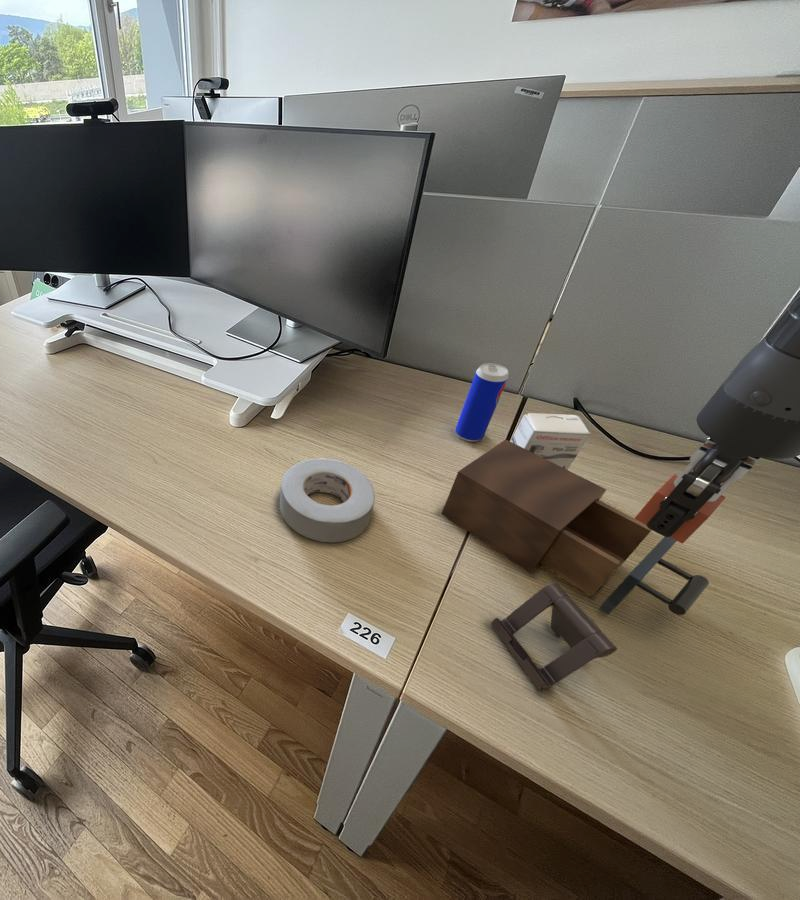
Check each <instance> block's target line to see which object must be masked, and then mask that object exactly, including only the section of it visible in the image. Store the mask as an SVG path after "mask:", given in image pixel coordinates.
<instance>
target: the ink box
mask: <svg viewBox="0 0 800 900" xmlns="http://www.w3.org/2000/svg"><path fill="white" fill-rule="evenodd" d="M591 435H592V432H591V429H590V428H589V426H588V424H587V423H586V422H585V421H584V420H583V418H582V417H581V416H579V415H577V414H565V413H564V414H563V413H562V414H561V413H542V412H528V413H527V414H523V416H522V418H521V420H520V421H519V424H518V426H517V428H516V430H515V432H514V433H513V435H512V438H511V439H510V442H512V443H514V444H516V445H518V446H520V447H522V448H524V449H526V450H528V451H530V452H532V453H534V454H536V455H538V456H540V457H542V458H544V459H546V460H548V461H550V462H552V463H554V464H556V465H558V466H560V467H562V468H564V469H566V470H568V471H569V468H570V467H571V465H572V464H573V463H574V461H575V460H576V457H578V454H579V453H580V451H581V450H582V449H583V447H584V445H585V444H586V442H587V441H588V439H589V438H590V436H591Z"/></svg>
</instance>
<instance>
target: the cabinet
mask: <svg viewBox="0 0 800 900" xmlns="http://www.w3.org/2000/svg"><path fill="white" fill-rule="evenodd" d="M606 491H607V488H605V487H603V486H601V485H598V484H597V483H595V482H592V481H591V480H589V479H587V478H584V477H582V476H581V475H579V474H576V473H575V472H572V471H571V470H569V469H568V470H566V469H564V468H562V467H560V466H558V465H556V464H554V463H552V462H550V461H548V460H546V459H544V458H542V457H540V456H538V455H536V454H534V453H532V452H530V451H528V450H526V449H524V448H522V447H520V446H518V445H516V444H514V443H512V442H511V440H508V439H504V440H502V441H501V442H499V443H497V444H496V445H495V446H493V447H492V448H491V449H489V450H487V451H486V452H485V453H483V454H481V455H480V456H479V457H477V458H476V459H474V460H472V461H471V462H470V463H468V464H467V465H466V466H465V465H464V467H462V468H460V470H458V471H457V474H456V476H455V478H454V481H453V483H452V486H451V488H450V491H449V494H448V495H447V498H446V502H445V504H444V506H443V509H442V511H441V515H443V516H444V517H446V518H447V519H449V520H450V521H452V523H455V524H456V525H457V526H459V527H460V528H462V529H464V530H465V531H467V532H468V533H470V534H471V535H473V536H474V537H476V538H477V539H479V540H480V541H482V542H483V543H484V544H486V545H487V546H489V547H491V548H492V549H493V550H495V551H496V552H498V553H499V554H501V555H502V556H504V557H505V558H507V559H508V560H510V561H512V562H513V563H515V564H516V565H517V566H519V567H520V568H522V569H523V570H525V571H526V572H528V573H529V574H533V573H534V572H535V571H536V570H537V569H539V567H540V566H542V565H541V564H540V562H541V560H542V559H543V557H544V556H545V554H546V553H547V551H548V550H549V548H550V547H551V545H552V544H553V542H554V541H555V539H556V538H557V536H558V535H559V533H560V532H561V531H562V530H563V529H564V528H566V527H567V526H568V525H569V524H570V523H571V522H572V521H573V520H575V519H576V518H577V517H578V516H579V515H580V514H581V513H583V512H584V511H585V510H586V509H587V508H588V507H589V506H590V505H592V504H593V503H594V502H595V501H596V500H597V499H598V500H600V501H601V499H602V497H603V496H604V494H605V493H606Z"/></svg>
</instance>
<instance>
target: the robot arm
mask: <svg viewBox="0 0 800 900" xmlns="http://www.w3.org/2000/svg"><path fill="white" fill-rule="evenodd" d="M695 422H696V425H697V427H698V428H699V430H700V431H701V432H702V433H703V434H704V435H705V436H707V437H708V438H707V439H706V441H705V442H704V443H703V444H702V445H700V446H699V447H698V448H697V449H696V450H695V451H694V453H693V454H692V455H691V456H690V457H689V463H688V464H687V465H686V466H685V468H684V469H683V470H682V471H681V472H680V473H679V474H678V475H677V476H678V477H677V478H676V480H675V481H674V485H675V489H674V490H673V491H672V492H671V493H670V495H669V496H668V497H666V498H665V499H664V500H662V501H661V502H660V504H661V505H660V506H659V508H660V509H659V510H658V512H657V513H656V514H655V515H654V516H653V517H652V518H651V520H650V521H649V522H648V523H647V527H648V528H649V529H651V530H652V531H653V532H655V533H656V534H659V535H661V536H662V537H670V536H672V535H673V534H674V533H675V531H676V530H677V529H678V528H679V527H680V526H681V525H682V524H683V523H684V522H685V521H687V522H688V521H689V520H690V519H691V520H692V519H693V518H694V517H695V515H696V514H697V513H698V510H699V509H700V508H701V507H702V506H703V505H704V504H705V503H706V502H714V501H716V500H717V499H718V498H719V497H720V496H721V495H722V496H723V494H724V493H725V492H726V491H727V490H728V489H729V488H730V487H731V486H732V485H733V484H734V483H735V482H738V481H741V480H742V479H743V478H744V477H745V476H746V475H747V474H748V473H749V472H750V471H751V470H752V469H753V468H754V465H756V463H757V462H758V461H759V460H760V459H761V458H763V459H768V460H769V459H770V460H786V459H793V458H796V457H798V456H799V457H800V293H799V294H798V295H797V296H796V297H795V298H794V300H793V301H792V302H791V303H790V304H789V305H788V306H787V308H786V309H785V310H784V311H783V313H782V314H781V315H780V317H779V318H778V319H777V320H776V321H775V323H774V324H773V325H772V326H771V328H770V329H768V331H767V332H766V334H765V335H764V337H763V338H762V339H760V341H759V342H758V343H756V345H754V347H752V349H750V350H749V351H748V352H747V353H746V354H744V356H743V358H742V359H740V361H738V364H736V366H734V368H733V370H732V371H730V373H729V375H728V376H727V377H726V378H725V380H724V381H723V382H722V383H721V385H720V386H719V387H718V388H717V390H716V391H715V392H714V393H713V395H712V396H711V397H710V399H709V400H708V401H707V402H706V403H705V404H704V406H703V407H702V408H701V410H700V411H699V412H698V413H697V415H696V421H695Z"/></svg>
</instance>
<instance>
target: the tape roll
mask: <svg viewBox="0 0 800 900" xmlns="http://www.w3.org/2000/svg"><path fill="white" fill-rule="evenodd" d="M314 493H328V494H330V495H333V496H335V497H337V498H338V499H340V500H341V501H342V503H339V504H323V503H320V502H318V501H315V500H313V499H312V498H311V497H310V495H312V494H314ZM279 494H280V495H279V511H280V515H281V517H282V519H283V520H284V521H285V523H286V524H287V525H288V526H289V527H290V528H291V529H292V530H293V531H294V532H296V533H297V534H299V535H301V536H302V537H305V538H306V539H310V540H313V541H316V542H322V543H341V542H346V541H349V540H353V539H355V538H356V537H358V536H359V535H361V534H362V533H363V532H364V531H365V530H366V529H367V527H368V525H369V524H370V520H371V516H372V512H373V508H374V505H375V499H376V495H375V491H374V487H373V483H372V482H371V480H370V479H369V478H368V477H367V475H366V474H365V473H363V472H362V471H361V470H360V469H358V468H357V467H356V466H354V465H351V464H349V463H346V462H344V461H340V460H337V459H332V458H323V457H322V458H321V457H319V458H311V459H307V460H302V461H300V462H298V463H295V464H294V465H293V466H291V467H289V468H288V470H287V471H286V472H285V473H284V475H283V477H282V480H281V484H280V493H279Z"/></svg>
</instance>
